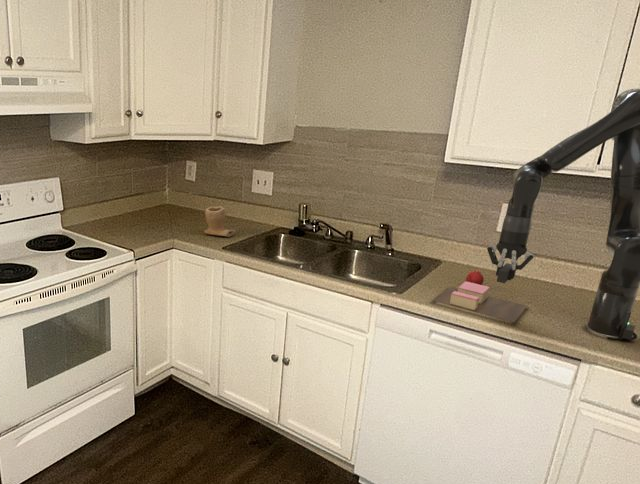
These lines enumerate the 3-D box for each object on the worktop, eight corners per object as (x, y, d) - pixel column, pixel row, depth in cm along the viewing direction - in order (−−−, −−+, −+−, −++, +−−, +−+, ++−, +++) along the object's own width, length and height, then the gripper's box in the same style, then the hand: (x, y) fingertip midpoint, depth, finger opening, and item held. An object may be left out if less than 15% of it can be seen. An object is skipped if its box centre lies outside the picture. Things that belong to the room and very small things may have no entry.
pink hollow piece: (199, 235, 268) (200, 207, 263) (210, 230, 278) (211, 203, 273) (226, 240, 260) (227, 211, 256) (236, 235, 270) (238, 207, 265)
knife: (504, 283, 169) (507, 271, 168) (496, 281, 171) (498, 270, 170) (518, 269, 182) (520, 258, 181) (510, 267, 184) (512, 257, 183)
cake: (487, 297, 191) (490, 287, 189) (480, 303, 184) (483, 293, 183) (463, 291, 196) (465, 281, 195) (456, 297, 190) (458, 287, 189)
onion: (465, 284, 205) (469, 265, 203) (482, 288, 202) (486, 268, 199) (463, 288, 201) (466, 269, 199) (480, 292, 197) (484, 272, 195)
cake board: (526, 308, 184) (527, 305, 184) (513, 325, 170) (513, 322, 170) (450, 289, 201) (450, 286, 200) (432, 303, 187) (432, 300, 187)
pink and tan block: (477, 307, 181) (479, 297, 180) (474, 310, 179) (476, 299, 178) (452, 301, 186) (454, 291, 185) (449, 303, 184) (451, 293, 183)
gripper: (488, 226, 170) (477, 275, 176) (539, 235, 161) (526, 287, 166) (494, 222, 176) (484, 270, 181) (543, 230, 166) (531, 281, 171)
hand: (504, 278), depth 174 cm, fingers closed on knife, 2 cm apart
